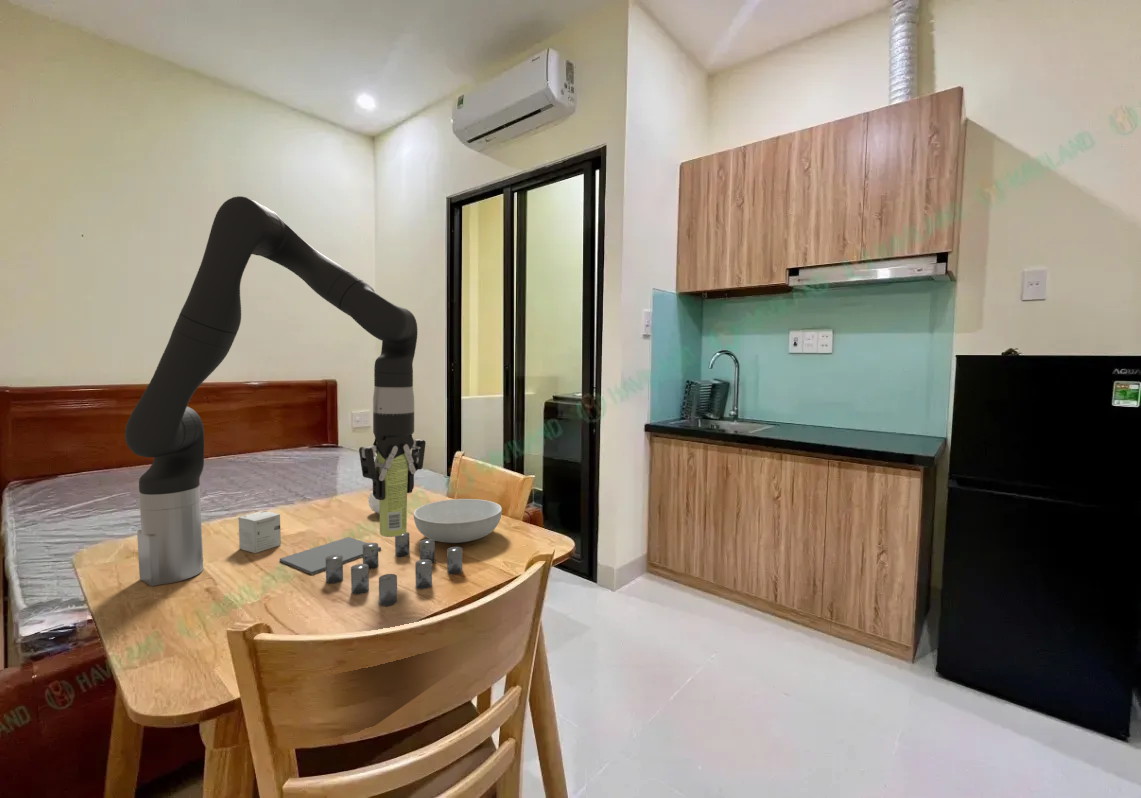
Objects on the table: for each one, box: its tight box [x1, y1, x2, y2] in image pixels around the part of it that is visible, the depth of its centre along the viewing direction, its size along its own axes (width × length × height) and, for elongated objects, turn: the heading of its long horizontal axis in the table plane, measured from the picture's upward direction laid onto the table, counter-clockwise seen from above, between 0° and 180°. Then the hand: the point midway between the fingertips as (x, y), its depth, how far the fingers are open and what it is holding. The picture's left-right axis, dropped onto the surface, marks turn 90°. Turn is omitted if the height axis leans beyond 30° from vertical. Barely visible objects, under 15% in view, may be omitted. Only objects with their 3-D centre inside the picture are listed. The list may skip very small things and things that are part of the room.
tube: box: [376, 442, 408, 538], centre depth 99 cm, size 6×5×20 cm
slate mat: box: [279, 536, 382, 575], centre depth 110 cm, size 16×12×1 cm
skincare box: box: [238, 510, 282, 554], centre depth 115 cm, size 6×6×7 cm
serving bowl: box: [413, 498, 503, 544], centre depth 123 cm, size 21×21×7 cm
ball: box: [367, 490, 380, 515], centre depth 141 cm, size 8×8×8 cm
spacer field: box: [325, 531, 463, 607], centre depth 100 cm, size 19×19×4 cm
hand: (394, 495), depth 99 cm, fingers closed on tube, 6 cm apart
